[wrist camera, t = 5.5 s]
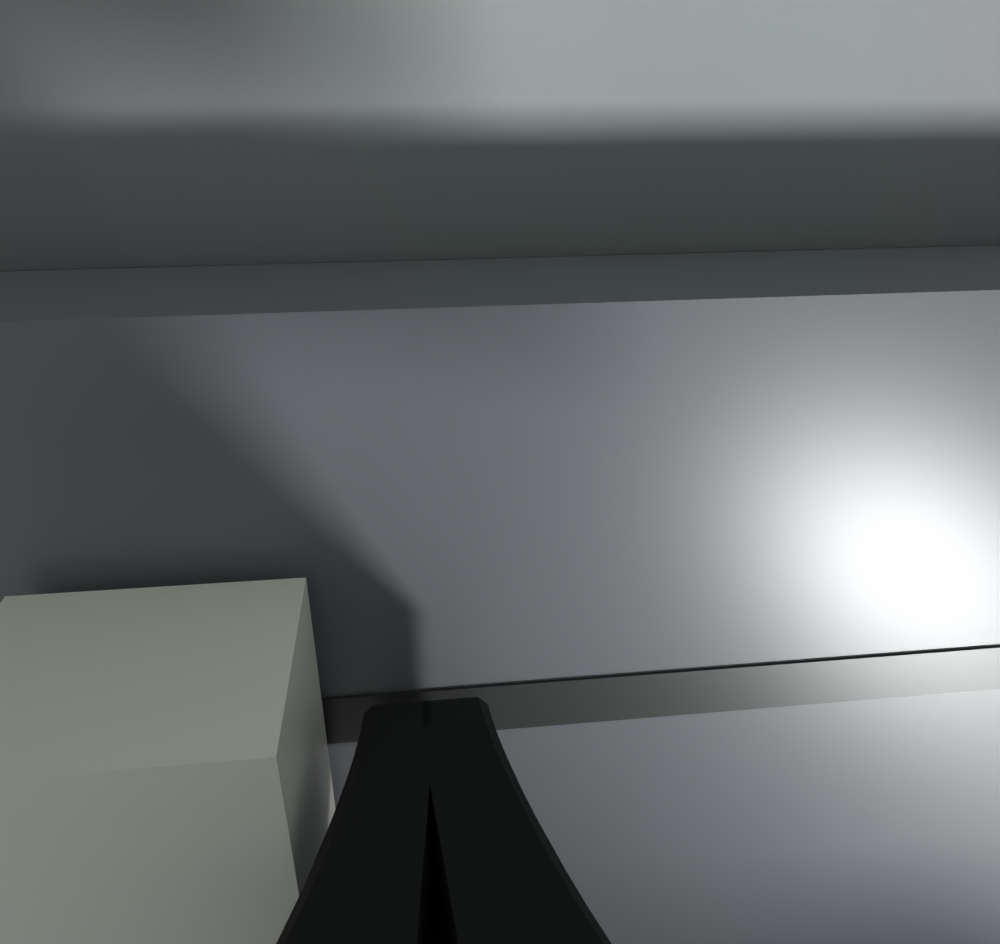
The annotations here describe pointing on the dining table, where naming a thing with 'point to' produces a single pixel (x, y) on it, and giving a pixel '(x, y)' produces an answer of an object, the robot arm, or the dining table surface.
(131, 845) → the block
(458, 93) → the dining table surface
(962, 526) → the console
